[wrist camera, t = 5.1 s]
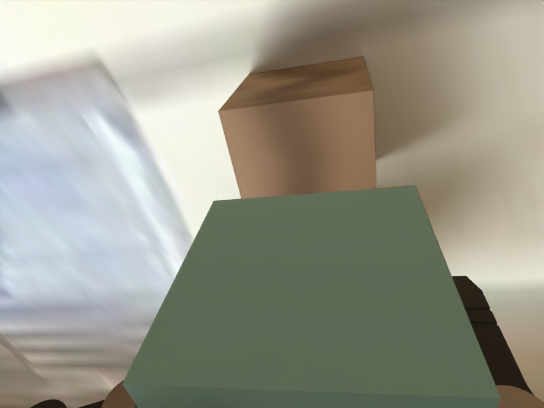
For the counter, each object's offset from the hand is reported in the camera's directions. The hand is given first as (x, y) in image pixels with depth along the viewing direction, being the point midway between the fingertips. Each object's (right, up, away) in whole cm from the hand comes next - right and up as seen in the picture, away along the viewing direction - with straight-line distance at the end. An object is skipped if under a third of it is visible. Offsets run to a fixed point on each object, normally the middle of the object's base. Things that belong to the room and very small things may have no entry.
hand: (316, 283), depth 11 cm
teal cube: (0, 0, +1) cm, 1 cm away
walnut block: (+2, +9, +16) cm, 18 cm away
